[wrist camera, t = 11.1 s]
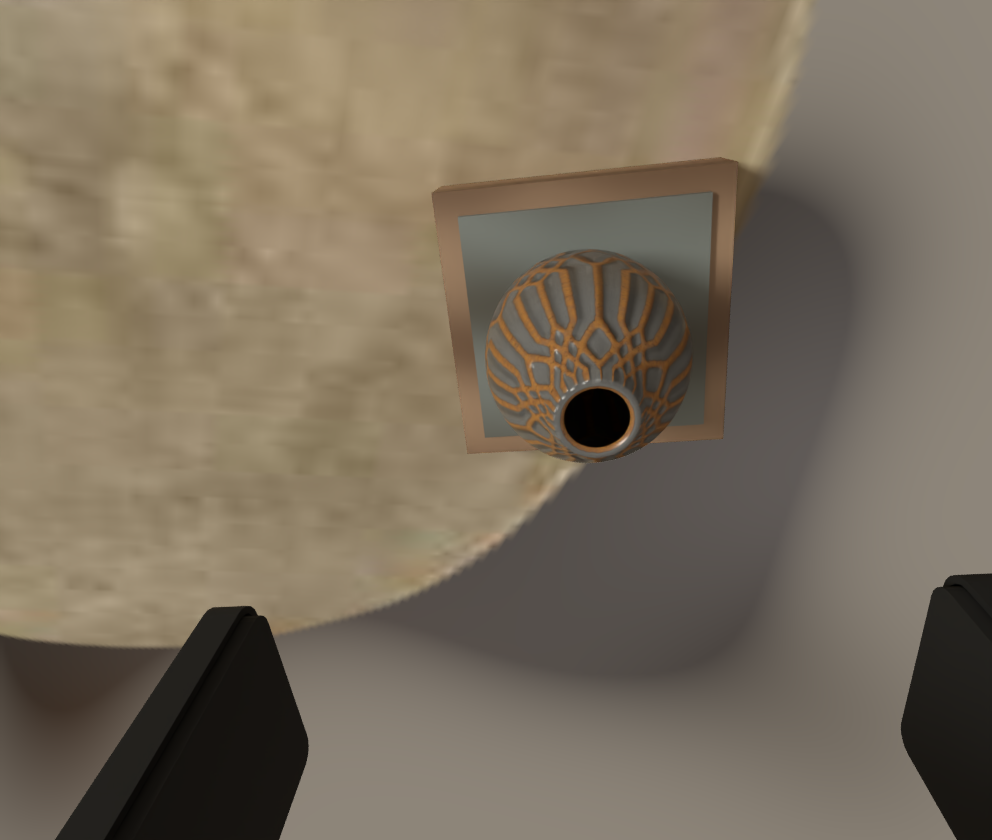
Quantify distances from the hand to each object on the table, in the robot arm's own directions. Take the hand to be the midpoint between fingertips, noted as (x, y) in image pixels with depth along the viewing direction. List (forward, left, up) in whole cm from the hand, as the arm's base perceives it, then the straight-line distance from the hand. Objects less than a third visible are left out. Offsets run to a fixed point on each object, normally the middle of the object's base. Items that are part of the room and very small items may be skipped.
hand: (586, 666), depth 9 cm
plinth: (+1, +1, -20) cm, 20 cm away
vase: (0, +1, -18) cm, 18 cm away
